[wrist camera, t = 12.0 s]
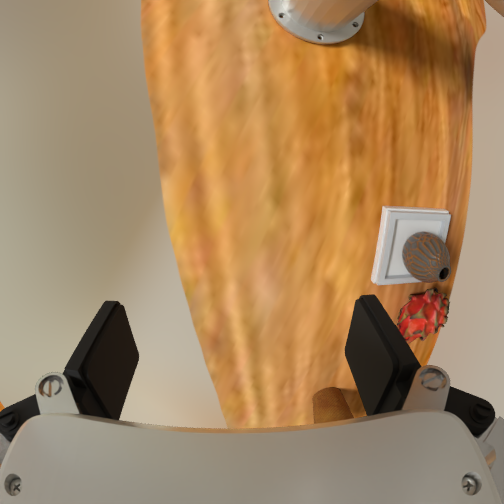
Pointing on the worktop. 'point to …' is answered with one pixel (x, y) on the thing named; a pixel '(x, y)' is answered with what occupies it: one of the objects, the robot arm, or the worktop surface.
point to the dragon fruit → (423, 315)
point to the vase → (426, 257)
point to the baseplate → (403, 239)
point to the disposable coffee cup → (330, 406)
